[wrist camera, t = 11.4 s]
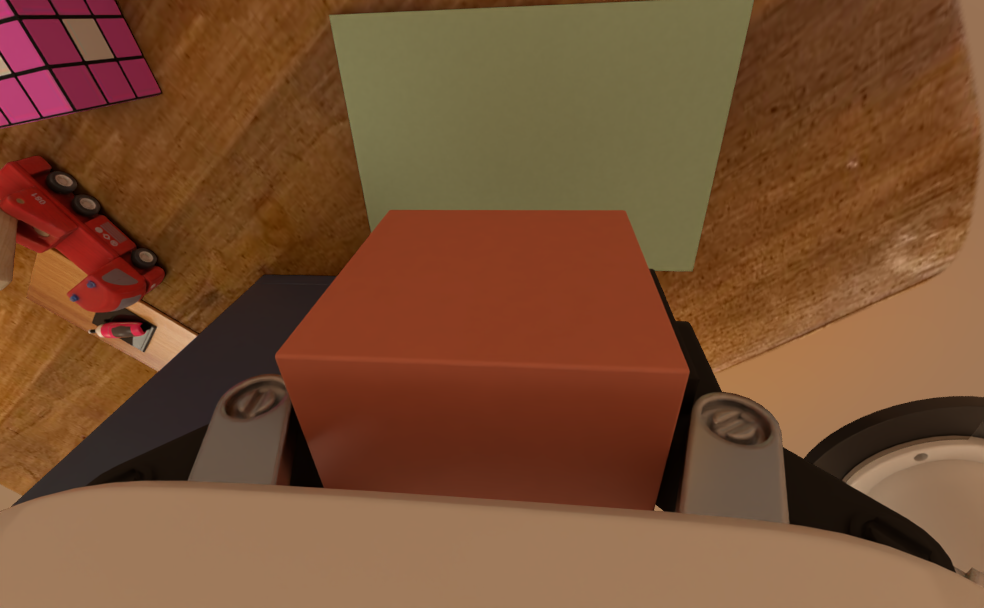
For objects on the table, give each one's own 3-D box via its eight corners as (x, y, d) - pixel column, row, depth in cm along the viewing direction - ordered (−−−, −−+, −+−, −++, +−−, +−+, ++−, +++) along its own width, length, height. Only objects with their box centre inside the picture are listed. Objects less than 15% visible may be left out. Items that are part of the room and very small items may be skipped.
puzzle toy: (81, 111, 27) (-20, 132, 22) (12, -4, 24) (-122, -8, 19) (163, 94, 26) (76, 112, 21) (101, -28, 23) (-17, -39, 18)
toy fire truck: (150, 293, 34) (24, 381, 26) (-36, 125, 28) (-273, 171, 20) (177, 273, 32) (53, 360, 24) (-12, 95, 27) (-253, 130, 19)
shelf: (446, 277, 30) (289, 687, 12) (461, 425, 38) (379, 816, 19) (263, 274, 32) (-132, 635, 13) (313, 417, 39) (104, 774, 21)
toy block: (626, 209, 10) (691, 371, 6) (603, 390, 13) (633, 593, 9) (388, 208, 11) (271, 355, 6) (417, 382, 14) (352, 569, 9)
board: (42, 241, 32) (22, 250, 31) (202, 336, 35) (189, 348, 34) (28, 296, 35) (9, 306, 34) (177, 379, 38) (164, 392, 37)
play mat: (752, -4, 21) (755, -5, 20) (691, 268, 28) (692, 271, 28) (331, 14, 23) (328, 14, 22) (378, 263, 30) (377, 266, 30)
